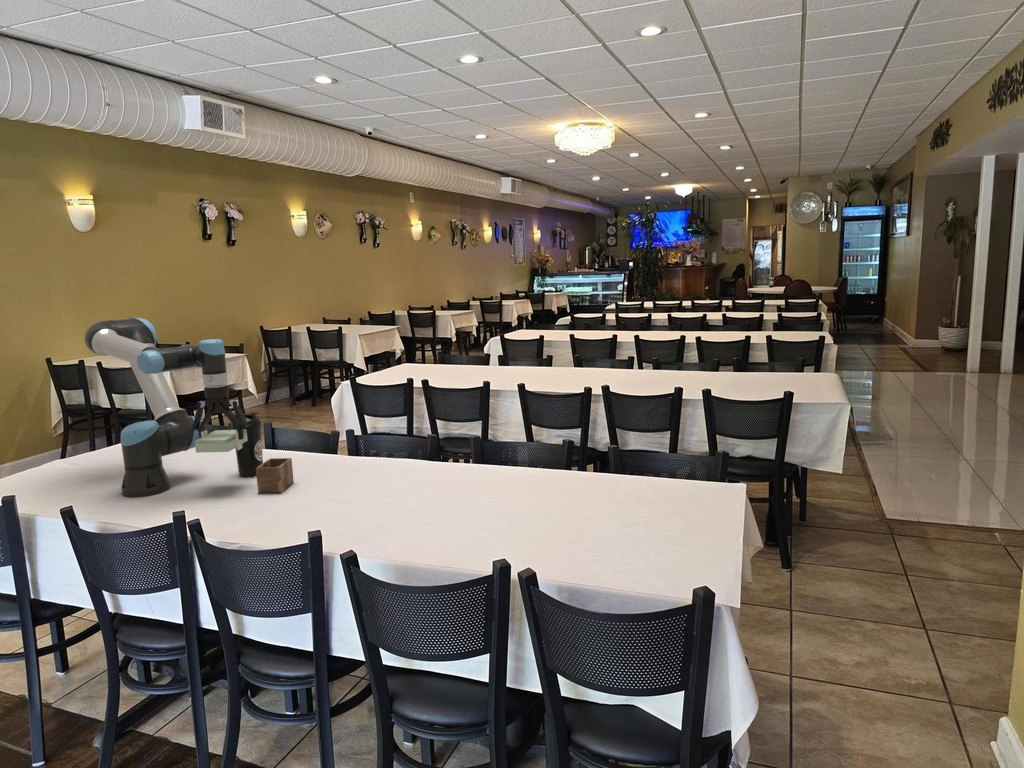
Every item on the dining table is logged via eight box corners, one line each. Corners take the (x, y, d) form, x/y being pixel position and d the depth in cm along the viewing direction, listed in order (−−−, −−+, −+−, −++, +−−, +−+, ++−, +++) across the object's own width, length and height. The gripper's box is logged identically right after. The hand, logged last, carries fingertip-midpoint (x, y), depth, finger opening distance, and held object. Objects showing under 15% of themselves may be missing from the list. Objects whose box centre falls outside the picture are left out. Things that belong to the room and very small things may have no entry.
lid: (228, 451, 234) (227, 440, 233) (195, 452, 235) (194, 440, 234) (247, 440, 249) (246, 429, 248) (216, 441, 249) (215, 430, 249)
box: (281, 493, 238) (278, 467, 237) (258, 494, 239) (255, 468, 237) (293, 482, 250) (291, 458, 248) (271, 483, 250) (269, 458, 249)
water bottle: (260, 478, 257) (254, 416, 253) (232, 479, 257) (225, 416, 253) (270, 470, 267) (264, 410, 263) (243, 470, 267) (237, 410, 263)
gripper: (176, 388, 235) (183, 452, 239) (245, 386, 234) (251, 451, 237) (187, 384, 243) (194, 447, 246) (254, 382, 241) (261, 445, 245)
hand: (222, 449), depth 242 cm, fingers closed on lid, 11 cm apart
